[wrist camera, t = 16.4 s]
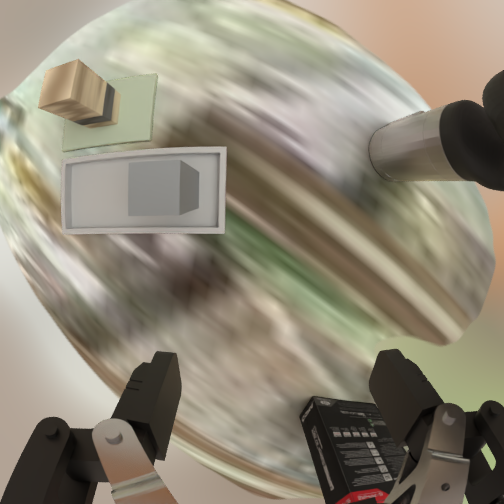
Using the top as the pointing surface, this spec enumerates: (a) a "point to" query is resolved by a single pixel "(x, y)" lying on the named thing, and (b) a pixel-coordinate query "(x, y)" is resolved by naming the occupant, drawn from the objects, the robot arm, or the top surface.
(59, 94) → the banded wooden block
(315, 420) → the graphics card box
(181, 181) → the slate box
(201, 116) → the top surface
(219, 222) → the parts tray
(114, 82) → the pad
